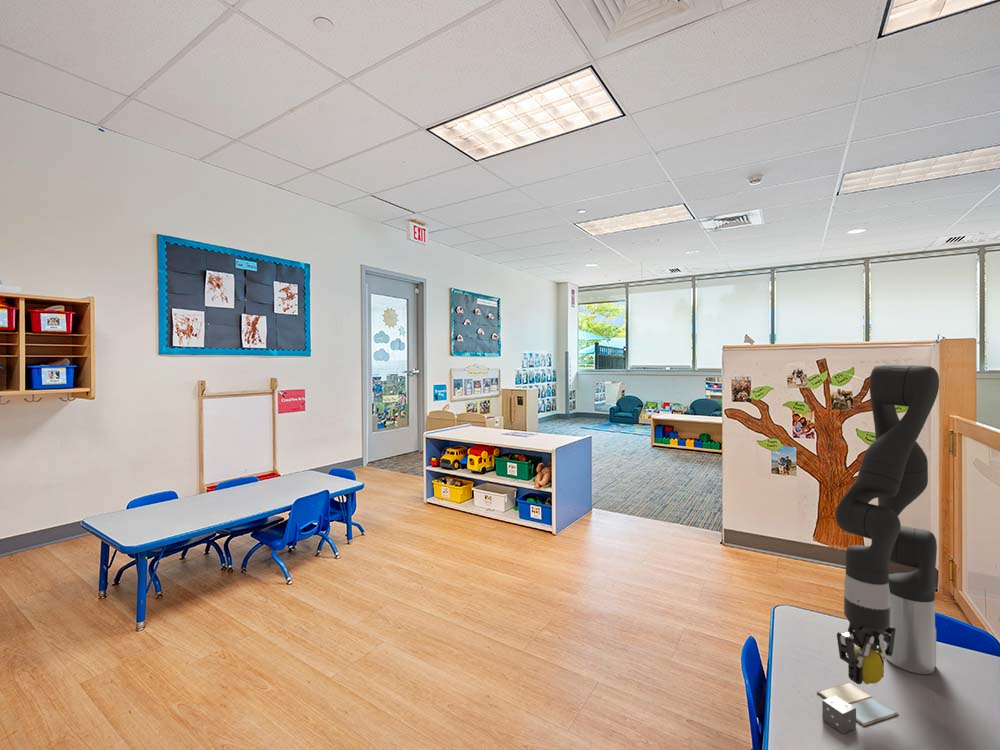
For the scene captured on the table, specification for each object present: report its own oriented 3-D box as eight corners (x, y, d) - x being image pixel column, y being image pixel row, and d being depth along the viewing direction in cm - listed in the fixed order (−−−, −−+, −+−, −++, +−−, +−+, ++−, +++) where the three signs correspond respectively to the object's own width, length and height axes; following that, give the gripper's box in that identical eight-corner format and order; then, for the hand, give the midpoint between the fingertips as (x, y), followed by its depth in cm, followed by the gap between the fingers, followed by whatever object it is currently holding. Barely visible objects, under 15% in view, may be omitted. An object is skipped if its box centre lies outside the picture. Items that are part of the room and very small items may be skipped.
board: (849, 683, 105) (849, 681, 105) (898, 715, 96) (898, 713, 96) (816, 693, 103) (816, 691, 103) (863, 726, 93) (863, 724, 93)
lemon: (889, 694, 93) (889, 655, 93) (858, 691, 94) (858, 652, 94) (873, 676, 98) (873, 639, 98) (844, 673, 99) (844, 636, 99)
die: (835, 694, 96) (856, 708, 92) (835, 714, 96) (856, 728, 93) (822, 699, 95) (843, 713, 91) (822, 719, 95) (843, 734, 91)
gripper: (860, 613, 90) (860, 698, 90) (911, 601, 94) (910, 683, 95) (823, 595, 97) (823, 674, 98) (871, 585, 102) (871, 661, 102)
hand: (866, 678), depth 96 cm, fingers closed on lemon, 5 cm apart
